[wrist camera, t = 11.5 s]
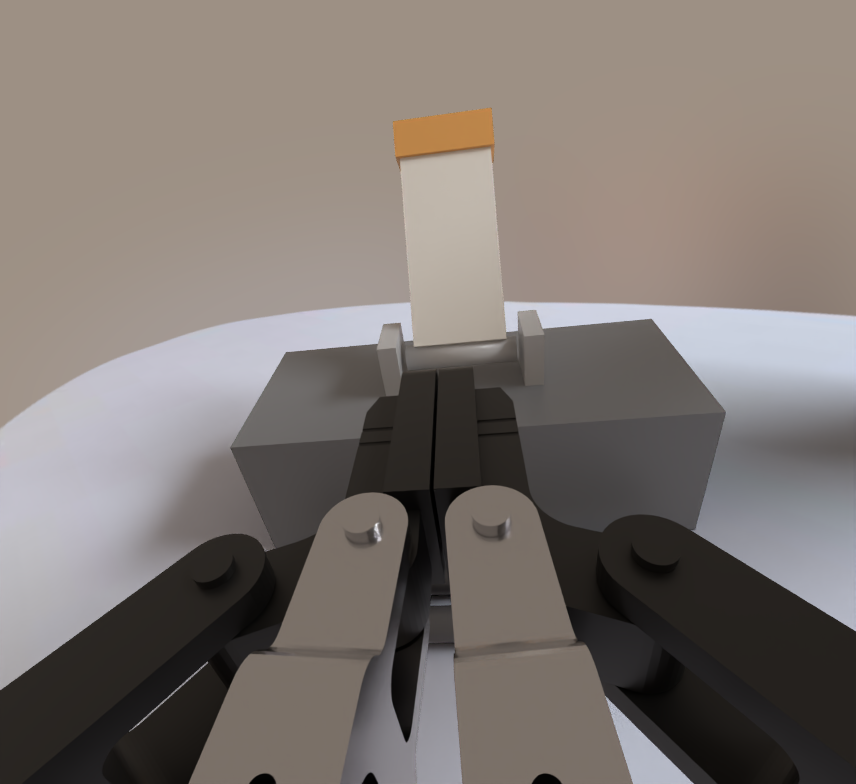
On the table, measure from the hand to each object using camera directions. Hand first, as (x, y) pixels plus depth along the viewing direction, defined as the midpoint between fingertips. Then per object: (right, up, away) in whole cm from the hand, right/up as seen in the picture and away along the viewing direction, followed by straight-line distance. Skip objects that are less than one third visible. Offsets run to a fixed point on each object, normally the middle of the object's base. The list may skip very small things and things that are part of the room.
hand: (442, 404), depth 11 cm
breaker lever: (+1, +2, +16) cm, 17 cm away
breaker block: (+3, -7, +19) cm, 21 cm away
